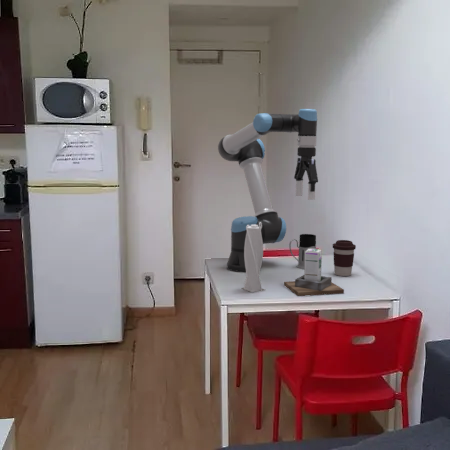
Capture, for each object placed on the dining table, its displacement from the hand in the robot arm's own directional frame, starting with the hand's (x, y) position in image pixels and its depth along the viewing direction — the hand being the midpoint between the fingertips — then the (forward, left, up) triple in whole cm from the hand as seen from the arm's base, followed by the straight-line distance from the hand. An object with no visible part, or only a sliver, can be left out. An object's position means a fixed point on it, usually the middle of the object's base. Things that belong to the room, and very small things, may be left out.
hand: (305, 197), depth 241 cm
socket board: (+18, -3, -35) cm, 39 cm away
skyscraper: (+14, -26, -35) cm, 46 cm away
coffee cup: (-2, +20, -35) cm, 40 cm away
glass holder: (-18, +7, -35) cm, 40 cm away
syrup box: (+18, -3, -33) cm, 38 cm away
